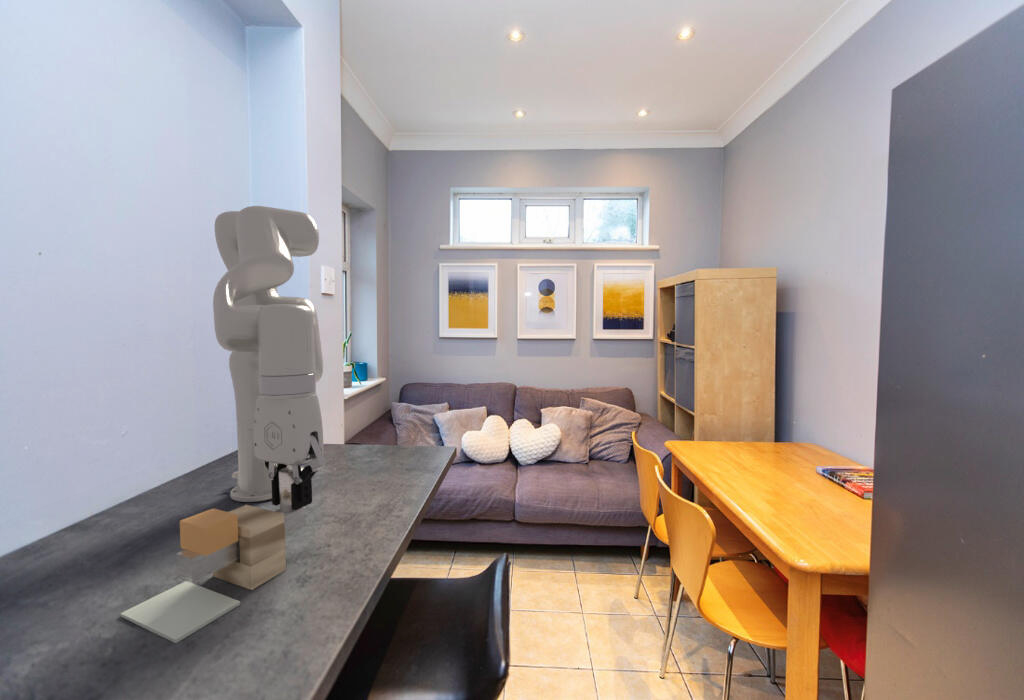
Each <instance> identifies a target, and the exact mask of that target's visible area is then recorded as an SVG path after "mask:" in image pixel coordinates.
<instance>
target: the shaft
mask: <svg viewBox="0 0 1024 700" xmlns="http://www.w3.org/2000/svg"><path fill="white" fill-rule="evenodd" d="M303 469H304V466H303V465H301V471H302V470H303ZM292 483H295V482H294V478H293V470H292V466H291V465H290V467H286V468H283V469H281V470H279V498H280V504H279V509H276V510H274V511H275V512H279V513H283V514H284V526H285V537H287V536H289V535H291V534H292V533H294V532H296V531H298V530H300V529H303V528H304V527H306V526H307V525H306V506H304V507H302V508H300V509H298V510H293V509H292V505H291V484H292ZM239 559H240V545H239V535H238V541H237V542H235V543H233V544H231V545H229V546H226V547H224V548H222V549H220V550H218V551H216V552H213V553H211V554H209V555H207V556H204V555H201V554H198V553H194V552H191V551H188V550H185V549H183V550H181V551H178V552H177V553H176V569H177V572H176V573H177V578H178V579H181V580H183V581H188V582H190V583H193V584H194V583H195V582H197V581H200V580H201V579H204V578H205V577H207V576H209V575H211V574H213V572H215V571H217V570H219V569H221V568H223V567H225V566H227V565H229V564H231V563H233V562H235V561H237V560H239Z"/></svg>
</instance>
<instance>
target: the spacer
mask: <svg viewBox="0 0 1024 700" xmlns="http://www.w3.org/2000/svg"><path fill="white" fill-rule="evenodd" d="M179 538H180V539H179V540H180V549H183V550H188V551H191V552H194V553H198V554H201V555H204V556H207V555H209V554H211V553H213V552H216V551H218V550H220V549H222V548H224V547H226V546H229V545H231V544H233V543H235V542H237V541H238V516H237V514H233V513H230V512H229V511H225V510H223V509H222V510H221V509H218V508H211V509H207V510H204V511H201V512H200V513H196V514H194V515H192V516H189V517H186V518H183V519H181V520H179Z"/></svg>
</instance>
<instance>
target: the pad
mask: <svg viewBox="0 0 1024 700" xmlns="http://www.w3.org/2000/svg"><path fill="white" fill-rule="evenodd" d="M240 605H241V601H240V600H237V599H235V598H232V597H230V596H227V595H224V594H221V593H219V592H216V591H214V590H212V589H208V588H206V587H203V586H200V585H197V584H195V583H194V582H193V583H191V582H189V581H186V580H184V581H183V582H182V583H180V584H177V585H175V586H173V587H171V588H169V589H167V590H164V591H163V592H161V593H158V594H157V595H154V596H153V597H151V598H149V599H147V600H145V601H143V602H140V603H138V604H137V605H134V606H132V607H130V608H129V609H126V610H124V611H123V612H120V617H121V618H123V619H125V620H127V621H129V622H131V623H133V624H135V625H137V626H139V627H141V628H143V629H145V630H147V631H149V632H151V633H153V634H155V635H157V636H160V637H161V638H163V639H166V640H168V641H170V642H172V643H174V644H177V643H180V642H181V641H182V640H184V639H186V638H188V637H189V636H191V635H192V634H194V633H196V632H197V631H199V630H200V629H203V628H204V627H205V626H207V625H209V624H210V623H212V622H214V621H215V620H217V619H219V618H221V617H222V616H224V615H225V614H227V613H229V612H231V611H232V610H234V609H235V608H237V607H238V606H239V607H240Z"/></svg>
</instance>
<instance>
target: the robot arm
mask: <svg viewBox="0 0 1024 700" xmlns="http://www.w3.org/2000/svg"><path fill="white" fill-rule="evenodd" d="M214 236H215V242H216V246H217V249H218V252H219V255H220V257H221V259H222V261H223V264H224V265H225V267H226V270H227V271H226V272H225V273H224V274H223V275H222V277H221V278H220V279H219V281H218V282H217V284H216V287H215V289H214V292H213V299H212V306H213V307H212V308H213V321H214V322H213V323H214V324H213V325H214V332H215V338H216V340H217V342H218V344H219V345H220V347H221V348H222V349H224V350H226V351H229V352H231V353H230V354H229V360H228V361H229V362H228V367H229V373H230V376H231V380H232V387H233V392H234V401H235V412H236V414H235V416H236V419H235V420H236V433H237V437H236V438H237V459H238V460H237V463H238V470H236V471H234V472H232V474H231V477H232V478H233V479H236V480H237V485H236V486H234V487H233V488H232V489H231V490H230V494H229V496H230V499H231V500H233V501H235V502H240V503H253V502H263V501H264V502H265V501H270V500H271V504H272V506H280V498H279V470H281V469H283V468H286V467H291V466H292V470H293V478H294V482H295V483H292V484H291V505H292V509H293V510H298V509H300V508H302V507H304V506H305V507H306V506H309V505H311V504H312V502H313V487H312V485H313V483H312V480H313V479H314V478H315V477H316V476H315V475H316V473H317V472H318V471H319V470H320V469H322V468H324V467H325V466H326V465H327V460H326V457H325V456H324V453H323V452H324V429H323V419H322V418H323V417H322V412H321V411H322V410H321V407H320V401H319V397H318V394H317V388H316V387H317V384H316V383H317V382H319V381H320V379H321V378H322V376H323V373H324V359H323V352H322V344H321V343H322V342H321V336H320V335H321V334H320V327H319V320H318V313H317V310H316V307H315V306H314V304H313V302H312V301H310V299H308V298H305V297H299V296H281V295H279V293H278V292H279V291H278V287H280V286H282V285H284V284H286V283H288V281H289V280H290V279H291V278H292V277H293V275H294V271H295V265H294V261H293V258H292V257H295V258H298V257H299V258H303V257H309V256H312V255H313V254H314V253H316V252H317V250H318V247H319V245H320V244H319V243H320V232H319V228H318V225H317V223H316V221H315V219H314V218H313V217H312V216H311V215H310V214H308V213H305V212H303V211H296V210H291V209H284V208H279V207H278V208H277V207H270V206H263V205H252V206H251V205H250V206H246V207H244V208H242V209H240V210H236V211H235V210H234V211H233V210H231V211H230V210H228V211H225V212H221V213H220V214H218V215H217V216H216V218H215V220H214ZM303 465H304V466H303ZM301 466H303V468H304V469H303V470H302V471H301Z"/></svg>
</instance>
